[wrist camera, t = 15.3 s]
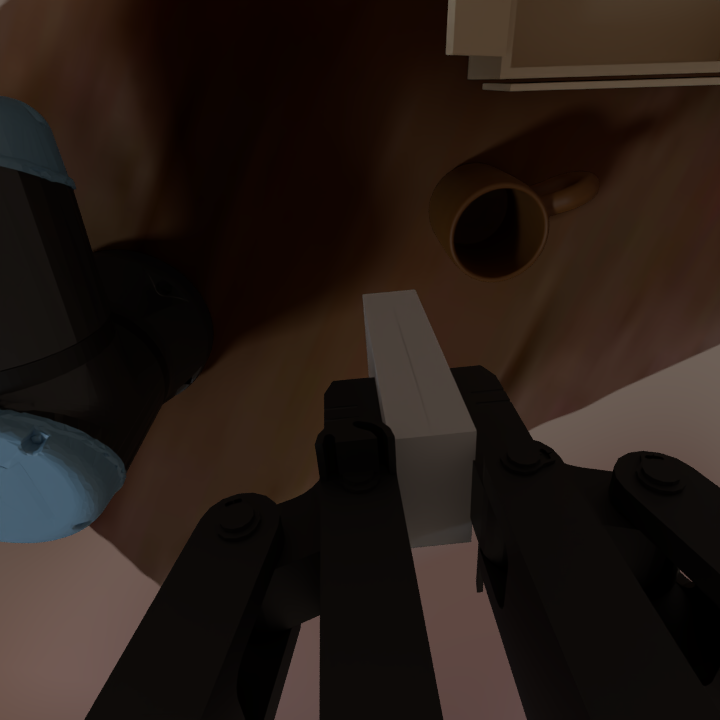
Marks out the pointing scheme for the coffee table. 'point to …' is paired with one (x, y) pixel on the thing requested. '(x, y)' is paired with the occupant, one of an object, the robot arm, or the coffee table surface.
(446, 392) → the robot arm
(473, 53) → the flap
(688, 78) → the carton
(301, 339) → the coffee table surface
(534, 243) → the mug
